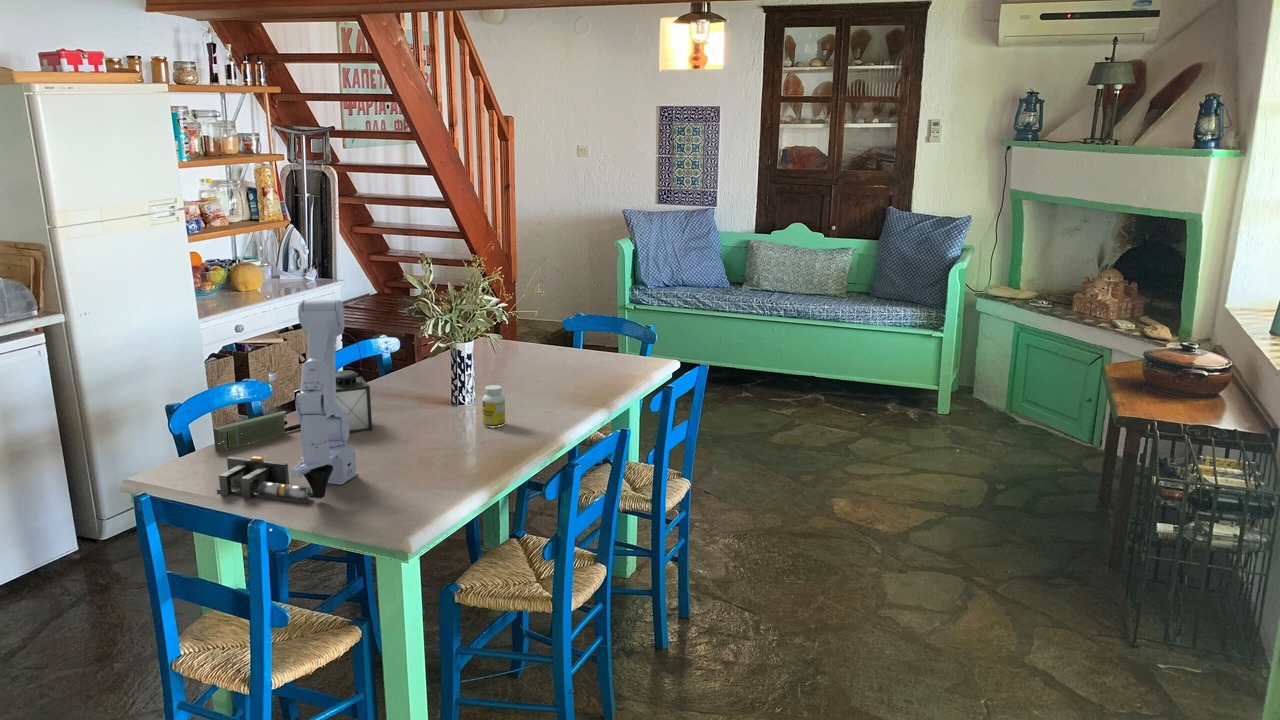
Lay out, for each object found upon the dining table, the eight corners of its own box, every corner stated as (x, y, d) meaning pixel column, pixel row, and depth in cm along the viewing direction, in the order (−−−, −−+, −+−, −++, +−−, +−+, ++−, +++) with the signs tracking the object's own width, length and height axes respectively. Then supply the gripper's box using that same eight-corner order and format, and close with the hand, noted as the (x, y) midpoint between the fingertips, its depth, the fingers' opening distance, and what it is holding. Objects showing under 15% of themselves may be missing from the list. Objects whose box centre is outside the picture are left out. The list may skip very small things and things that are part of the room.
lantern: (372, 430, 269) (367, 334, 262) (332, 436, 264) (325, 338, 257) (364, 420, 278) (359, 327, 271) (325, 424, 273) (319, 330, 267)
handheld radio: (213, 450, 252) (298, 428, 270) (219, 453, 250) (304, 431, 268) (211, 427, 250) (297, 406, 269) (217, 430, 248) (303, 409, 267)
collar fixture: (326, 491, 224) (324, 464, 223) (303, 506, 216) (300, 478, 214) (232, 479, 231) (230, 453, 229) (206, 493, 222) (203, 466, 220)
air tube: (312, 494, 221) (308, 484, 219) (305, 503, 218) (301, 493, 216) (267, 489, 224) (264, 478, 222) (260, 497, 221) (256, 487, 219)
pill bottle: (480, 423, 276) (478, 385, 273) (501, 420, 279) (500, 383, 276) (487, 430, 270) (486, 391, 267) (508, 427, 273) (507, 388, 270)
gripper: (322, 429, 223) (326, 483, 226) (278, 448, 210) (283, 505, 213) (346, 433, 220) (350, 487, 224) (304, 452, 207) (308, 510, 210)
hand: (319, 496), depth 218 cm, fingers closed
